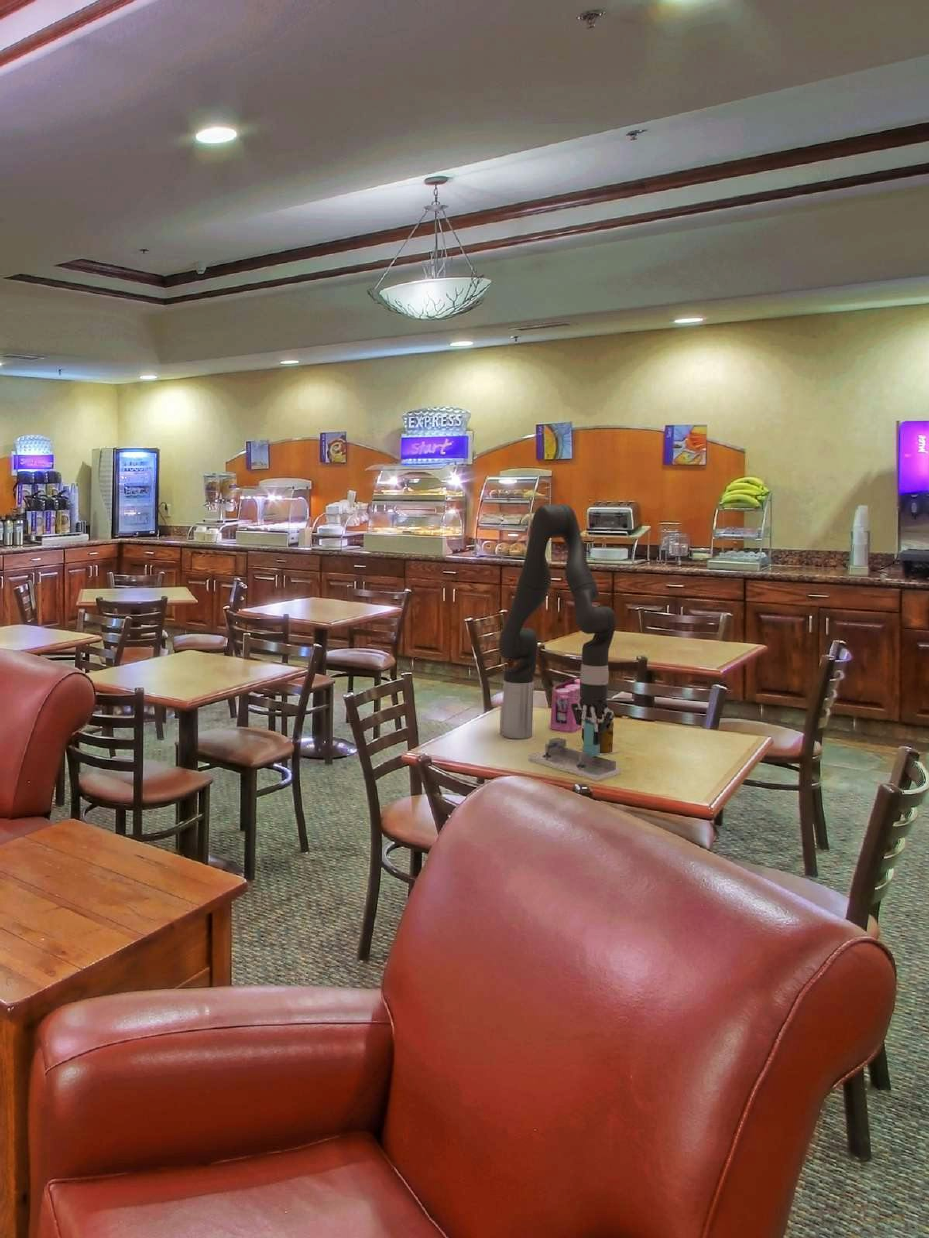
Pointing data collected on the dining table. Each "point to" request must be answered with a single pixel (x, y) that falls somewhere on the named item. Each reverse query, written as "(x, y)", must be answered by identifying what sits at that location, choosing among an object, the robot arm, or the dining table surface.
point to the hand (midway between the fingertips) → (591, 742)
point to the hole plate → (574, 761)
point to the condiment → (607, 740)
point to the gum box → (565, 705)
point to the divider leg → (589, 742)
